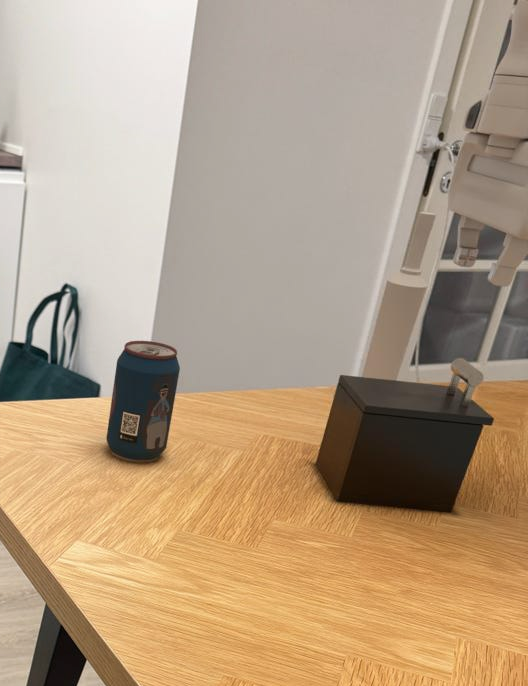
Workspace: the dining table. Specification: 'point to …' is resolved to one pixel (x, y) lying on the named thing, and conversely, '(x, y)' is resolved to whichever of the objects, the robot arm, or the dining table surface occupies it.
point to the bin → (394, 457)
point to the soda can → (142, 401)
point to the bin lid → (421, 396)
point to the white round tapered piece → (399, 309)
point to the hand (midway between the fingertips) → (479, 274)
